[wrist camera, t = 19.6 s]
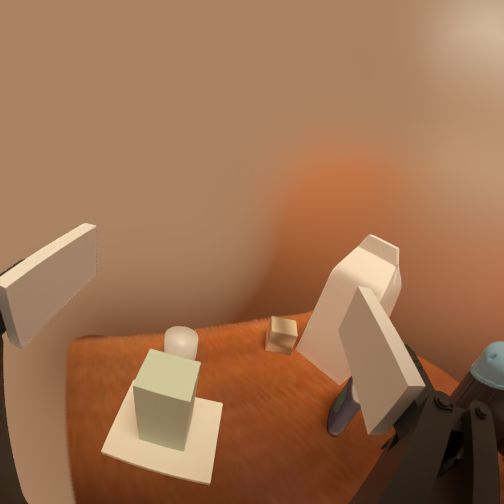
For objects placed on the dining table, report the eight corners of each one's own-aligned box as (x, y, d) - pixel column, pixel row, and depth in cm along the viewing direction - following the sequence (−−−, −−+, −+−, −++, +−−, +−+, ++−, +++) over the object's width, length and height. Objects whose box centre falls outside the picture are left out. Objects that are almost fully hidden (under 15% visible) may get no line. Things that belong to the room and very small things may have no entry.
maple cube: (288, 339, 59) (296, 321, 57) (289, 355, 54) (297, 336, 52) (265, 335, 59) (271, 316, 57) (265, 350, 54) (271, 331, 52)
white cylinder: (195, 365, 46) (201, 330, 43) (189, 386, 41) (194, 351, 38) (167, 358, 46) (170, 322, 43) (159, 378, 41) (160, 342, 38)
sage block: (192, 417, 35) (200, 362, 31) (183, 451, 30) (190, 401, 25) (151, 406, 35) (150, 348, 30) (139, 439, 29) (132, 385, 25)
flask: (339, 438, 36) (372, 397, 32) (322, 433, 37) (352, 390, 33) (348, 400, 45) (375, 358, 41) (333, 395, 45) (359, 352, 41)
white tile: (222, 406, 39) (222, 403, 39) (209, 485, 26) (210, 483, 26) (134, 382, 39) (133, 379, 38) (101, 453, 26) (100, 451, 25)
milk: (295, 349, 56) (340, 228, 46) (327, 333, 64) (369, 227, 54) (339, 385, 48) (402, 260, 38) (367, 362, 56) (421, 253, 46)
